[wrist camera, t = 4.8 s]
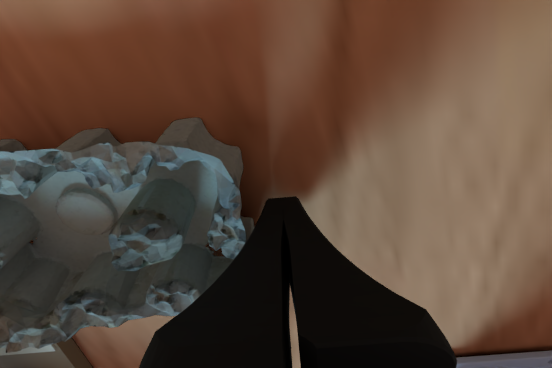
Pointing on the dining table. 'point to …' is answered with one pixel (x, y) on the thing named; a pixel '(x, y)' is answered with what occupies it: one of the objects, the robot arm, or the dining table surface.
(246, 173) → the dining table surface
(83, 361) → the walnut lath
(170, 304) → the egg carton
